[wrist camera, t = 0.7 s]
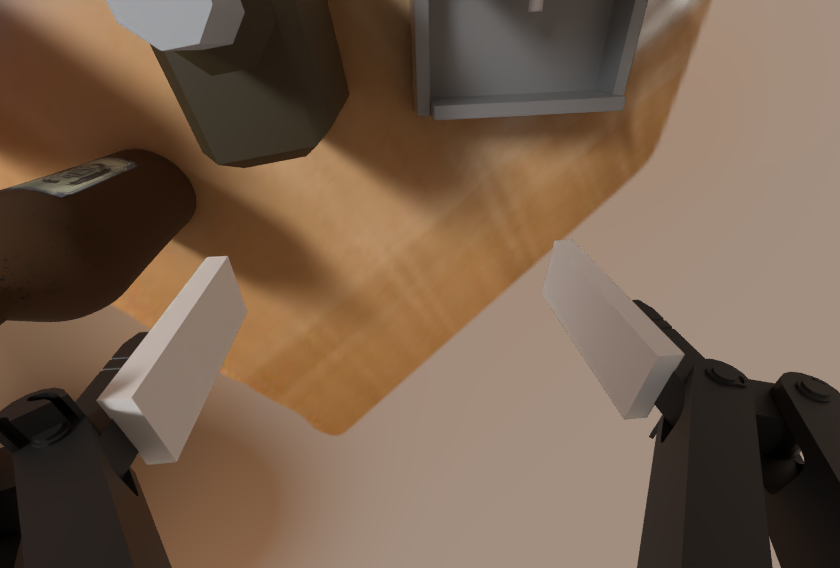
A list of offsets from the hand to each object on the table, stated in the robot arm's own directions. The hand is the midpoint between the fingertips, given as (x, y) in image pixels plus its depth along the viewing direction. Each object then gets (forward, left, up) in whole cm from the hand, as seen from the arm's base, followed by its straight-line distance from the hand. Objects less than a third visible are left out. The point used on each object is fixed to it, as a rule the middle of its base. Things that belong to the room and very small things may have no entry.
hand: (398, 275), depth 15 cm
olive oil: (+5, -27, -31) cm, 41 cm away
